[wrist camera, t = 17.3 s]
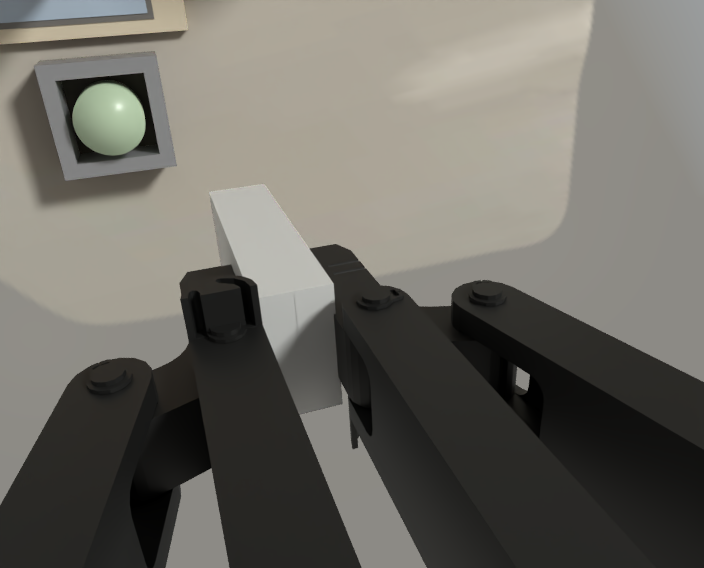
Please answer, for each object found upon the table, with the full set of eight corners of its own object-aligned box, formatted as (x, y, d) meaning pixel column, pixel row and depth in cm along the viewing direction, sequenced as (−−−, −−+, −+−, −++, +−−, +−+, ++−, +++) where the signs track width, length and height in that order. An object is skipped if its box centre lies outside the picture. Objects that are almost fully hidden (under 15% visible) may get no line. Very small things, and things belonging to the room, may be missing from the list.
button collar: (39, 61, 33) (33, 66, 31) (154, 51, 34) (156, 55, 32) (69, 169, 35) (65, 180, 33) (174, 155, 37) (176, 166, 35)
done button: (68, 83, 33) (64, 90, 31) (137, 76, 34) (137, 82, 32) (85, 148, 35) (82, 159, 32) (149, 140, 36) (151, 150, 33)
